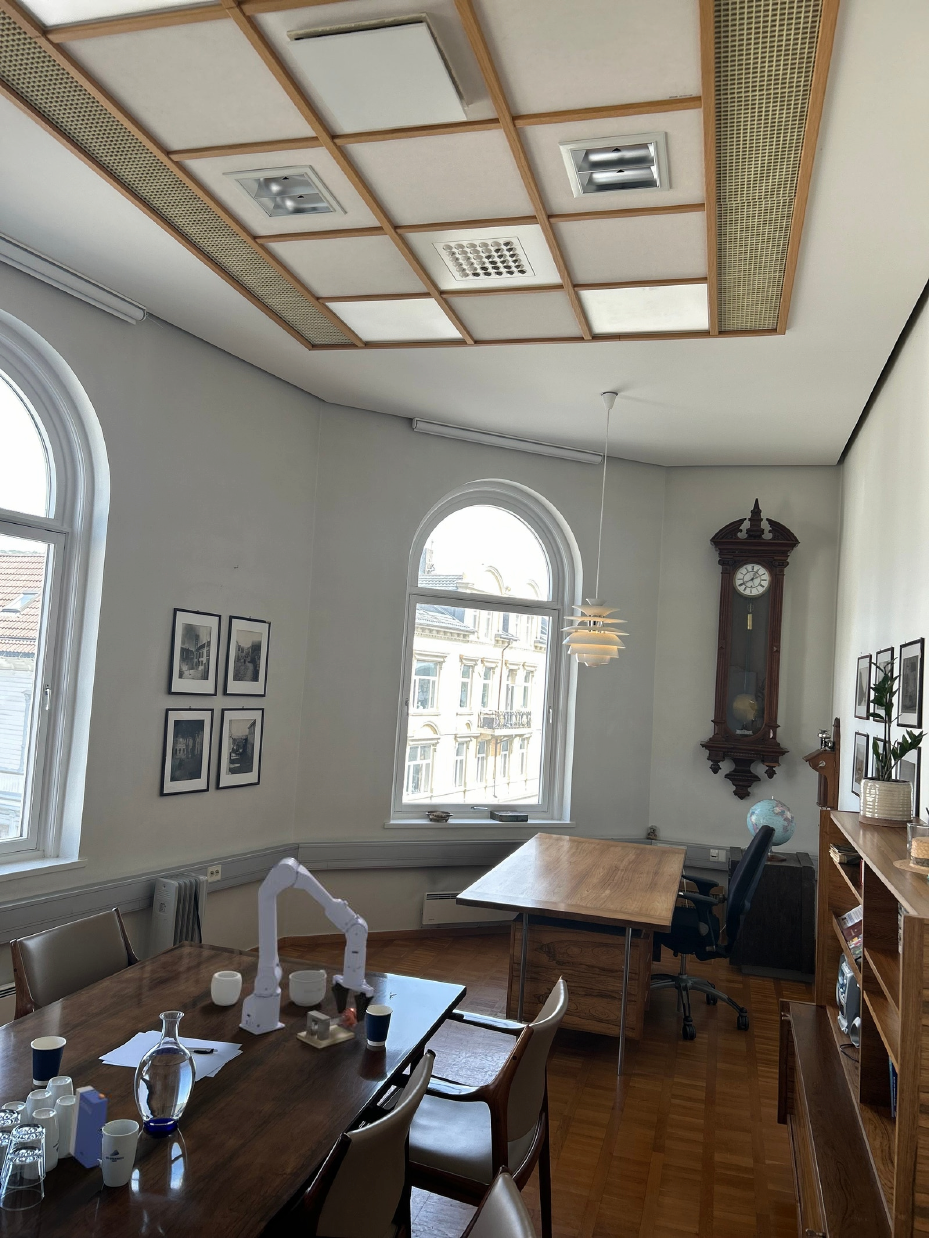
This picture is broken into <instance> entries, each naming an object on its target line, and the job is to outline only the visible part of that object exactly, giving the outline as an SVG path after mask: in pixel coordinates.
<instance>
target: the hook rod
mask: <svg viewBox="0 0 929 1238" xmlns="http://www.w3.org/2000/svg"><path fill="white" fill-rule="evenodd" d="M316 1023H317V1022H315V1021H314V1022H312V1031H317V1029H318V1024H316ZM341 1024H343V1025H344V1027H346V1028H351V1027H355V1026H356V1025H358V1024H359V1022H357V1021H356V1007H349V1008H346V1009H345V1010H344V1011H343V1013H341V1016H339V1017H336V1018H332V1019H330V1027H331V1026H334V1025H337V1026H338V1025H341Z"/></svg>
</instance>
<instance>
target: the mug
mask: <svg viewBox="0 0 929 1238" xmlns="http://www.w3.org/2000/svg"><path fill="white" fill-rule="evenodd" d="M242 983H243V980H242V974H241V973H240V972H237V971H232V970H224V971H219V972H216V973H214V974H213V976H212V978H211V984H210V995H211V998H212V1001H213V1003H214V1004H215V1005H218V1006H223V1007H224V1006H226V1007H227V1006H231V1005H234V1004H235V1003H236V1002H237V1001H238V1000H239V998H240V994H241V991H242V987H243V986H242V985H243V984H242Z"/></svg>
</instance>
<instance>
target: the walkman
mask: <svg viewBox="0 0 929 1238" xmlns="http://www.w3.org/2000/svg"><path fill="white" fill-rule="evenodd" d="M108 1101H109V1100H108V1098H106V1095H104V1094H103V1093H100V1092H99V1091H98V1090H96V1088H94V1087H92V1086H91V1085H87V1086H82V1087H79V1088H76V1089H75V1098H74V1105H73V1106H74V1107H73V1113H72V1114H73V1115H72V1121H71V1123H72V1124H71V1133H70V1141H69V1142H70V1143H69V1151H68V1152H69V1153H70V1154H71V1156H72V1157H74V1158H75V1159H76V1160H77V1161H78V1162H80V1164H82V1166H84V1167H85V1168H86V1169H90V1168H93V1167H96V1166H99V1165H101V1164H100V1162H99V1160H97V1159H100V1158H101V1143H102V1138H103V1134H102V1131H98V1130H100V1128H102V1127H103V1126H105V1127H106V1124H107V1121H106V1120H107V1112H108V1111H107V1110H108Z"/></svg>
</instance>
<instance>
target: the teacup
mask: <svg viewBox="0 0 929 1238" xmlns="http://www.w3.org/2000/svg"><path fill="white" fill-rule="evenodd" d="M288 979H289V984H288V985H289V990H288V991H289V997H290V999H291V1001H293V1002H294V1003H295V1005H296V1006H300V1007H311V1006H315V1005H318V1004H319V1003H320V1002H321V1001H322V1000H323V999H324V997H325V995H326V989H327V972H326V970H324V969H320V970H319V971H318V970H299V971H296V972H292V973H290V974H289V976H288Z"/></svg>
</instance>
